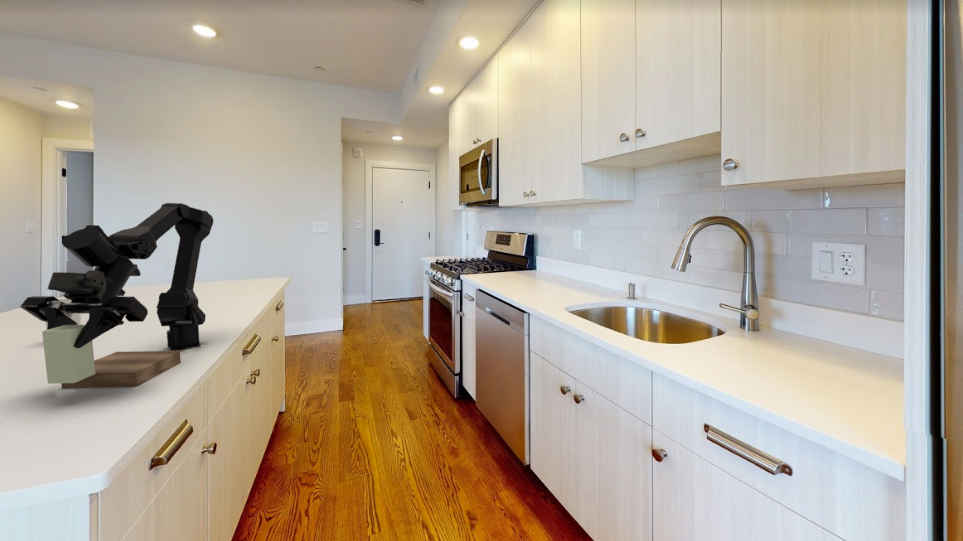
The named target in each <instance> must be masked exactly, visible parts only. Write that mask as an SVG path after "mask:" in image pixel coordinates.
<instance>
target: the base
mask: <svg viewBox="0 0 963 541" xmlns="http://www.w3.org/2000/svg"><path fill="white" fill-rule="evenodd" d="M181 362H182V360H181V351H180V350H157V351H155V350H154V351H153V350H152V351H151V350H150V351H147V350H143V351H137V350H136V351H135V350H134V351H133V350H132V351H115V352H113V353H110V354H108V355H104V356H101V357H100V358H98V359H94V364H95V374H94V375H92V376H89V377H87V378H85V379H83V380H80V381H78V382H76V383H60V384H61V388H62V389H71V388H73V387H75V388H78V387H79V388H80V387H81V388H112V387H115V388H117V387H120V388H121V387H138V386H140V385H142V384H143V383H146V382H148V381H150V380H151V379H153V378H155V377H157V376H158V375H160V374H162V373H164V372H166V371H168V370H170V369H171V368H173V367H176V366H178V364H181ZM81 388H80V389H81ZM73 389H74V388H73Z"/></svg>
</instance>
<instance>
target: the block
mask: <svg viewBox="0 0 963 541" xmlns="http://www.w3.org/2000/svg"><path fill="white" fill-rule="evenodd" d="M85 325H86V324H81V325H63V326H60V327H56V328H52V329H49V330H47V329H46V330H42V332H41V333H42V341H43V343H42V344H43V350H44V351H43V352H44V359H45V368H46V369H45V370H46V371H45V372H46V380H47V384H61V383H76V382H78V381H80V380H83V379H85V378H87V377H89V376H92V375H94V374H95V364H94V360H95V356H94V346H93V340H92V341H90V342H89V343H87V344H86V345H84V346H83V347H81V348H76V347H74V344H75V341H76V339H77V337H78V336H79V334H80V333H81V331H82V329H83V328H84V326H85Z"/></svg>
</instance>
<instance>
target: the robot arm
mask: <svg viewBox="0 0 963 541" xmlns="http://www.w3.org/2000/svg"><path fill="white" fill-rule="evenodd" d="M213 225H214V217H213V216H212V214H210V213H209V212H208V211H207V210H202V209H199V208H195V207H191V206H189V205H187V204H184V203H183V202H182V203H179V202H165V203H162V204H161V206H160V208H159V209H157V210H156V211H155V212H153V213H152V214H151V215H149V216H148V217H146V219H144V220H143V221H141V222H140V223H139V224H137V225H136V226H133V227H130V228H127V229H126V228H125V229H122V230H119V231H116V232H114V233H111V234H110V235H107V234H106V233H105V232H104V230H103V228H102V227H101V226H100V225H98V224H97V225H95V224H91V225H90V224H87V225H85V228H82V229H78V230H75V231H74V232H71V233H70V234H67V235H66V236H64V237H63V239H62V246H63V247H64V248H65V249H67V250H68V252H70V254H72V255H73V256H74V257H75V258H76V259H77V260H79V261H80V262H81V263H82V264H83V265H85V266H86V267H90V268H93V270H88V271H86V272H85V273H84V272H83V273H82V272H65V271H64V272H63V271H62V272H59V271H58V272H55V271H54V272H52V274H51V277H50V281H49V283H48V285H47V290H48V291H49V290H50V291H53V290H54V291H57V292H59V293H64V294H63V298H66V299H70V300H72V301H71V303H64V302H61V301H59V300H58V299H59V298H57V297H56V296H54V295H52V296H51V295H50V296H49V295H44V296H43V295H36V296H35V295H34V296H29V297H26V299H25V300H24V301H23V302H22V303H21V304H20V306H19V307H20V308H21V309H22V310H24V311H26V312H28V314H30V315H32V316H33V317H35V318H36V319H38V320H39V321H41V322H44V323H46V322H48V327H47V328H46V330H49V329H52V328H56V327H60V326H63V325H77V324H78V323H77V322H75V321H74V320H72V319H71V317H72V314H73V313H77V314H80V315H81V314H84V315H85V314H87V315H88V320H87V321H86V323H85V324H84V325H85V326H84V328H83V329H82V331H81V333H80V334H79V336H78V337H77V339H76V341H75V344H74V347H76V348H81V347H83V346H84V345H86V344H87V343H89V342H90V341H92V342H93V340H95V339H97V338H98V337H100V336H102V335H104V334H105V333H107V332H108V331H111V330H112V329H115V327H118V326H122V325H124V324H125V321H124V320H123V319H124V318H125V319H126V320H127V322H129V323H130V322H131V323H132V322H133V323H135V322H137V323H138V322H143V323H144V321H145V320H146V318H147V316H148V314H149V313H148V308H147V307H146V306H145V305H144V304H143V303H142V302H140V301H139V300H138V299H137V298H136V297H135V296H125V294H126V293H127V292H126V291H125V290H124V289H123V288H124V287H125V286H126V284H127V282H128V280H129V278H130V277H140V276H141V271H140V269H139V268H138V264H137V263H133V261H132V260H147V259H149V258H150V257H151V256H152V255H153V253H154V252H155V251H156V250H157V248H158V245H157V241H158V240H159V239H160V238H161V237H163V236H164V235H165V234H166V233H167V232H169V231H170V230H171V229H172V228H173V227H174V229H175V231H176V233H177V235H178V236H179V242H178V247H177V253H176V259H175V262H174V263H175V264H174V267H173V268H174V269H173V275H172V279H171V285H170V288H169V289H168V290H167V291H166V292H160V294H159V295H158V303H157V304H156V315H157V319H158V320H159V323H160V325H161V327H168V330H166V340H167V342H166V344H167V348H170V351H179V350H183V349H190V348H196V347H201V345H202V344H201V342H200V332H199V331H200V327H199V326H200V325H204V324H205V322H206V316H207V314H205V312H204V311H203V310H202V309H201V308H200V307H199V299H198V296H197V295H196V293H195V292H194V287H195V283H196V275H197V268H198V263H199V257H200V252H201V246H202V242H203V241H204V240H205V239H206V238H207V237H208V236H209V235H210V233H211V231H212V227H213Z"/></svg>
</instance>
